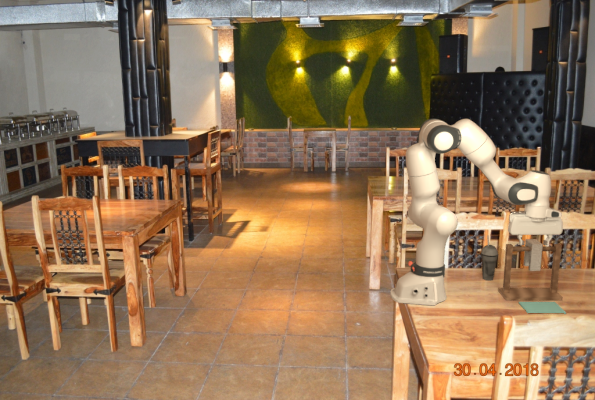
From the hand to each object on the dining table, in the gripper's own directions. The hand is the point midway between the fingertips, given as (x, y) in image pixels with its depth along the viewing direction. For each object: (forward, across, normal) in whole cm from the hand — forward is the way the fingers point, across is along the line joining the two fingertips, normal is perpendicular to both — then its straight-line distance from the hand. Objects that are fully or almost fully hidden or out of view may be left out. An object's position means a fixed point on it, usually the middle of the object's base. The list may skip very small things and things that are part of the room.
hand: (533, 245), depth 214 cm
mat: (+22, 0, -12) cm, 25 cm away
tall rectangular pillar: (+10, 0, 0) cm, 10 cm away
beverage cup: (+22, -11, +19) cm, 31 cm away
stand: (+22, 0, 0) cm, 22 cm away
